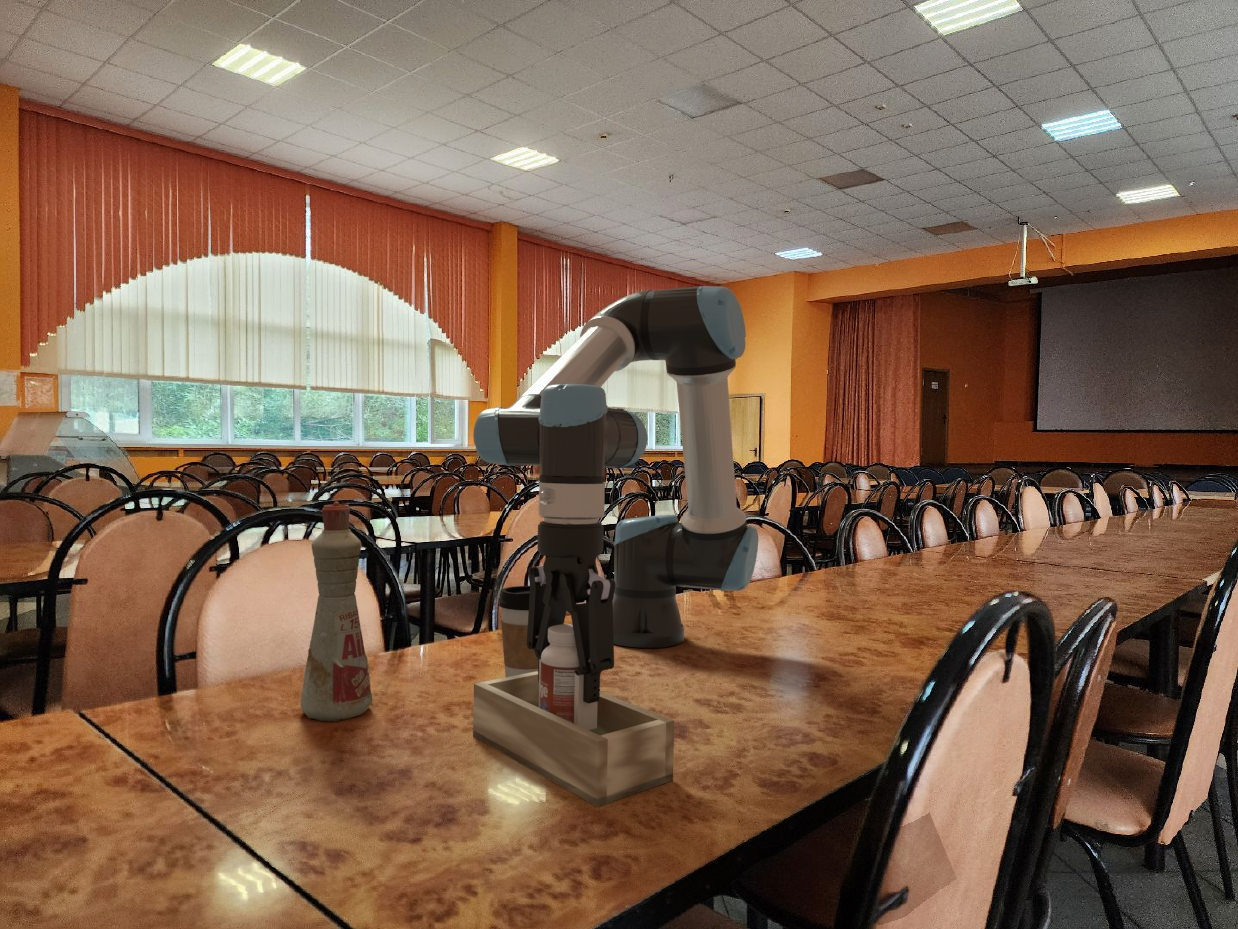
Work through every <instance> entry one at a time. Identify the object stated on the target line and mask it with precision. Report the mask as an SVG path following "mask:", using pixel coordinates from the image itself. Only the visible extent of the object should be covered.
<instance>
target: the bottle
mask: <svg viewBox="0 0 1238 929" xmlns="http://www.w3.org/2000/svg"><path fill="white" fill-rule="evenodd" d="M350 510H351V507H350V505H349V504H340V502H339V501H336V500H335V501H334V502H333V504H325V505H323V508H322V509H321V512H322V513H321V514H322V522H323V528H324V529H323V530H321V533H320V534H318V536H317V537H316V538H315V539H314V540H313V541H312V543H311V550H312V556H313V563H314V568H315V576H316V581H317V590H318V597H317V602H316V609H315V615H314V621H313V626H312V632H311V638H310V641H309V648H308V651H307V652H308V653H307V658H306V665H305V669H304V674H303V677H304V678H303V684H302V688H301V689H302V690H301V694H300V695H301V697H300V707H301V708H300V709H301V710H302V711H303V712H304V714H305V715H306V716H307V717H306V718H308V719H309V720H311V719H315V720H317V721H321V722H329V723H331V722H337V721H339V722H340V721H344V720H349V719H351V718H355V717H358V716H361V715H362V714H364V713H365V712H366V711H367V710H368V709H369V707H370V706H371V705H372V702H373V693H372V691H371V676H370V673H371V672H370V671H371V669H370V665H369V661H368V657H367V654H366V650H365V646H364V638H363V632H362V627H361V622H360V615H359V614H360V613H359V609H358V603H357V602H358V601H357V596H356V593H355V592H356V588H357V579H358V573H359V563H360V555H361V550H362V542H361V539H360V538H358V537H357V535H355V534H354V533H353V532H352V531H351V529H350V528H349V527H350V512H351V511H350Z"/></svg>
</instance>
